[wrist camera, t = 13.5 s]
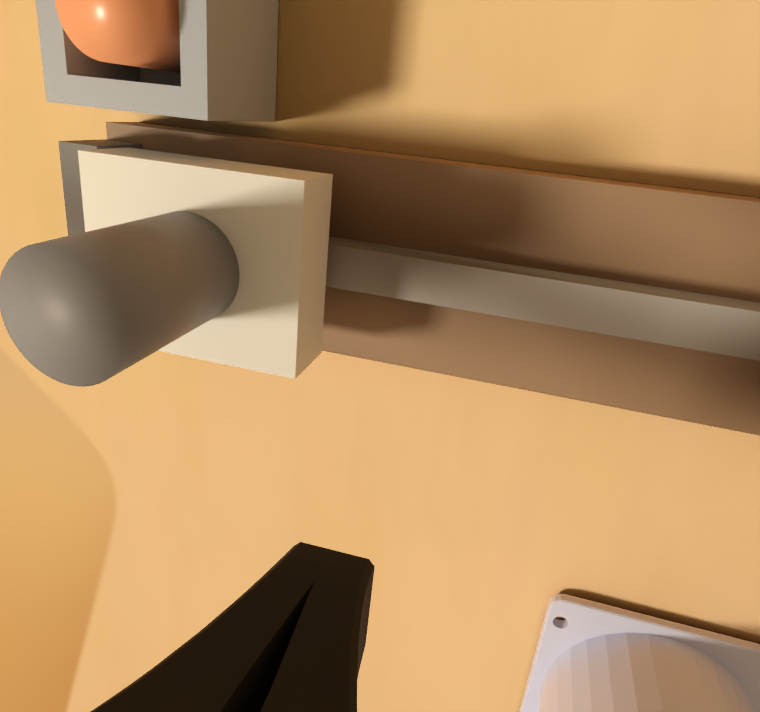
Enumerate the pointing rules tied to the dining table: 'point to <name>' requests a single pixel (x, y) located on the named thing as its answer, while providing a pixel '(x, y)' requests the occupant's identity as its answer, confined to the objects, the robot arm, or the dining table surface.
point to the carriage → (176, 268)
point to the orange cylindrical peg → (125, 31)
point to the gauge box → (197, 61)
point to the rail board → (520, 273)
